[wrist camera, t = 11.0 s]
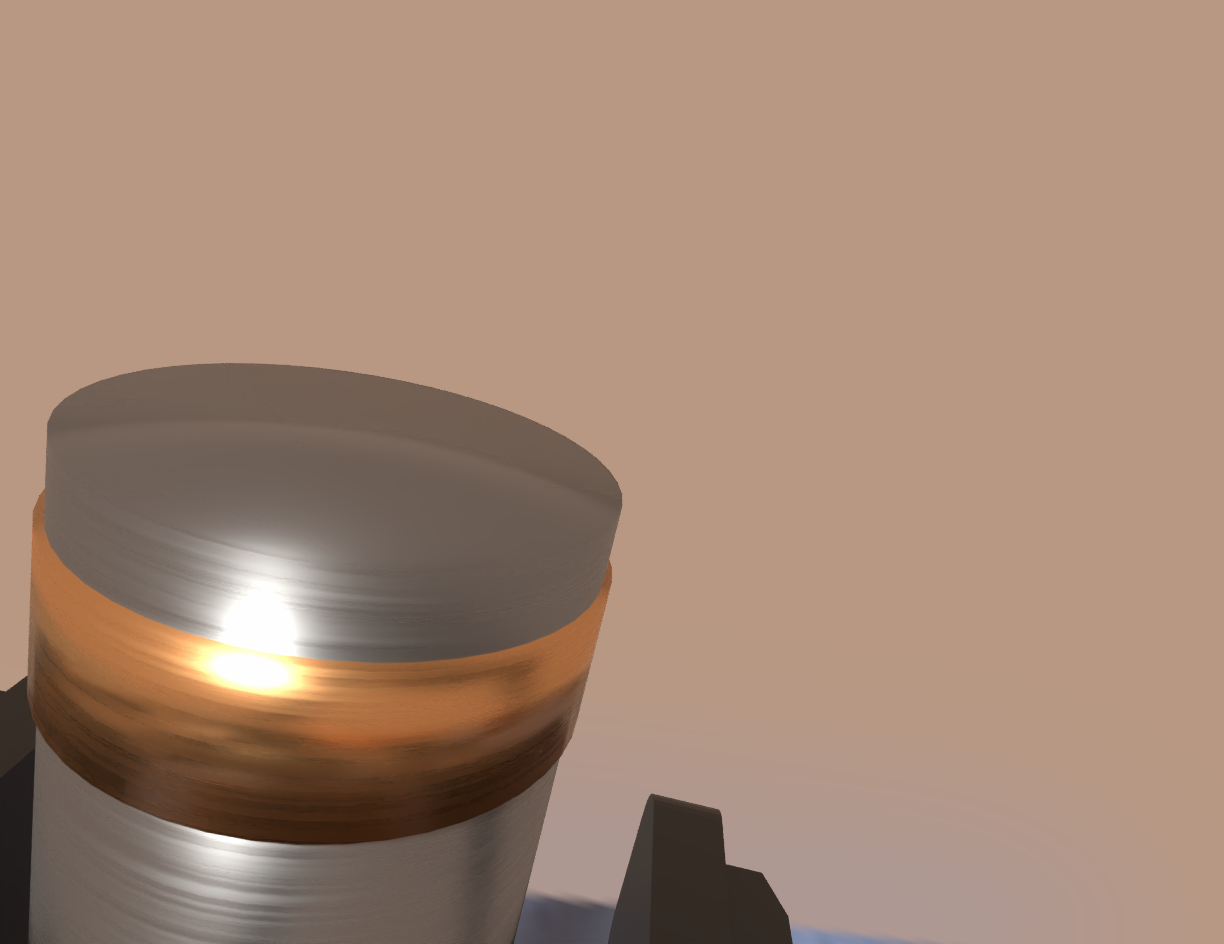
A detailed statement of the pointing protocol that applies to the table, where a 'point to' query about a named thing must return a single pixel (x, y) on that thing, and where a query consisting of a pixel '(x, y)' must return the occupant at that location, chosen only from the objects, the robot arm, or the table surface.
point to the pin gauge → (302, 657)
